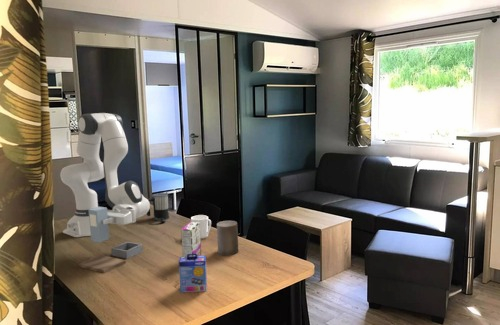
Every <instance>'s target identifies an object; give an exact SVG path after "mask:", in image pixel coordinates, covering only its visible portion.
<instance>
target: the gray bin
mask: <svg viewBox="0 0 500 325" xmlns="http://www.w3.org/2000/svg"><path fill="white" fill-rule="evenodd" d="M142 252H144V250H143V244H142V243H137V242H130V241H126V242H123V243H121V244H119V245H118V244H117V245H116V246H114V247H111V257H112V256H114V257H117V258H122V259H127V260H128V259H130V258H131V257H134V256H136V255H138V254H140V253H142Z"/></svg>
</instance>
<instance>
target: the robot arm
mask: <svg viewBox="0 0 500 325" xmlns="http://www.w3.org/2000/svg"><path fill="white" fill-rule="evenodd" d="M123 123H124V121H123V119H122V117H121V115H119V114H116V113H108V112H107V113H106V112H98V113H97V112H95V113H89V112H88V113H83V114H81V115H80V117H79V118H78V121H77V125H78V126H77V127H78V130H79V134H78V137H77V138H78V140H77V144H76V145H77V146H76V153H77V155H78V156H79V157H81V158H82V159H83V162H81V163H80V162H79V163H74V164H70V165H66V166H65V167H63V168H62V169H61V170H60V174H59V176H60V177H59V178H60V179H61V182H62V183H63V184H64V185H66V186H68V187H69V188H70V189H71V190H72V193H73V195H74V199H75V205H76V206H75V207H76V208H74V209H73V211H74V215H72V217H71V218H70V219H69V220H68V221H67V224H66V225H67V226H66V229H64V230H62V233H63V234H65V235H68V236H71V237H74V238H80V237H91V232H90V221H89V209H92V208H96V207H100V206H99V203H98V202H99V201H98V194H97V192H96V191H95V190H94V189H93V188H89V184H88V183H92V182H97V181H100V180H102V179H104V183H105V195H104V198H105V202H106V203H107V205H108V206H109V207H110V208H112V209H107V215H108V219H103V220H101V223H102V224H107V223H108V224H115V225H121V226H123V225H125V226H126V225H128V224H134V223H136V221H137V219H138V218H141V217H144V216H145V215H147V212H148V211H149V209H150V210H151V202H150V203H149V201H148V199H149V198H146V197H145V196H144V195H143V194H142V191H141V188H140V185H138V183H136V182H135V181H133V180H128V181H125V182H122V183H120V184H119V180H118V167H119V165H120V164H121V162H122V160H124V159H125V157H126V155H127V154H128V153H129V144H128V141H127V140H128V139H127V137H126V134H125V130H124V124H123ZM101 142H102V145H103V150H104V152H103V161H101V160H102V159H101V158H100V148H101Z"/></svg>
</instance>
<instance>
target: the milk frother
mask: <svg viewBox="0 0 500 325" xmlns="http://www.w3.org/2000/svg"><path fill="white" fill-rule="evenodd" d="M168 196H169V194H168V193H167V192H166V193H165V192H163V193H162V192H161V193H155V194H153V195H152V197H149V198H147V199H148V201H149V203H150V204H151V202H152V203H153V206H152V207H153V217H152V220H155V221H157V222H160V223H165V222H166V220H168V219H169V218H170V214H169V213H170V212H169V197H168ZM146 216H148V217H150V216H151V208H150V209H149V211H148V212H147V213H146Z"/></svg>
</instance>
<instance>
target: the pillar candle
mask: <svg viewBox="0 0 500 325" xmlns="http://www.w3.org/2000/svg"><path fill="white" fill-rule="evenodd" d="M216 232H217V233H216V234H217V237H216V240H217V253H218V254H219V255H223V256H230V255H236V254H238V253H239V251H240V250H239V232H238V222H237V221H235V220H223V221H218V222H217V223H216Z"/></svg>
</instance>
